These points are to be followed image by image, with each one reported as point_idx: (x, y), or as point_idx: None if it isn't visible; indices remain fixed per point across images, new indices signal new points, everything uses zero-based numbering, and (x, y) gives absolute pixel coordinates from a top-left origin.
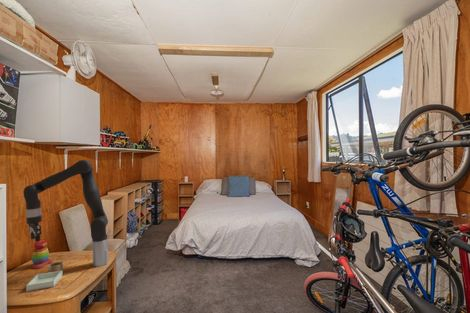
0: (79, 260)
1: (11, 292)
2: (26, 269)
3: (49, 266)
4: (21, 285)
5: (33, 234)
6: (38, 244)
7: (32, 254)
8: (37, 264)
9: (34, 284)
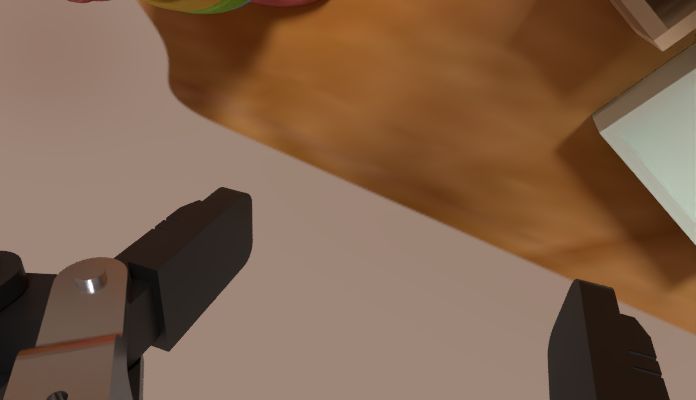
0: None
1: None
2: (252, 45)
3: (667, 33)
4: (545, 212)
5: (183, 284)
6: None
7: (176, 10)
8: None
9: None
